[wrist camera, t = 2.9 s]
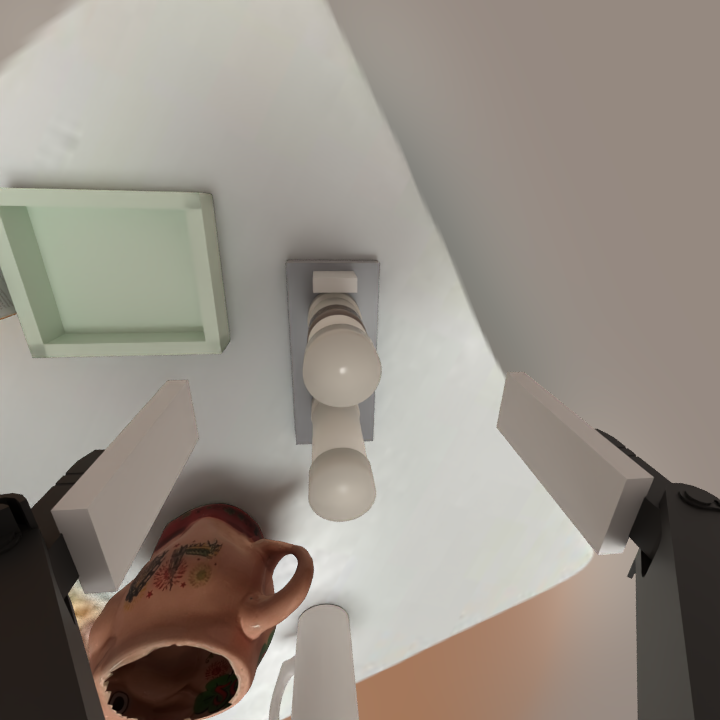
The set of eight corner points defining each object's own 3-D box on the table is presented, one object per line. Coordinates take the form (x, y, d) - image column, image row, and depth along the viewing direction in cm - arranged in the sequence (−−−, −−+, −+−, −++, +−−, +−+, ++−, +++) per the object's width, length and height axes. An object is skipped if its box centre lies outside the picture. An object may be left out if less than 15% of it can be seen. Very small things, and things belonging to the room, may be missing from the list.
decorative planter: (270, 439, 34) (241, 578, 21) (342, 517, 39) (353, 669, 26) (109, 538, 36) (-5, 717, 24) (194, 600, 41) (138, 778, 28)
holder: (297, 434, 34) (286, 549, 22) (287, 260, 28) (265, 294, 16) (370, 431, 35) (396, 541, 23) (376, 260, 29) (416, 294, 17)
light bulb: (309, 339, 29) (304, 408, 19) (307, 289, 27) (300, 336, 17) (358, 338, 29) (380, 406, 19) (359, 289, 28) (383, 334, 18)
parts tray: (60, 343, 28) (32, 357, 26) (11, 189, 24) (-28, 186, 22) (230, 340, 30) (221, 353, 27) (211, 194, 26) (199, 192, 23)
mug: (335, 594, 43) (340, 726, 32) (360, 623, 46) (373, 755, 35) (261, 627, 44) (243, 767, 33) (290, 654, 46) (282, 792, 35)
